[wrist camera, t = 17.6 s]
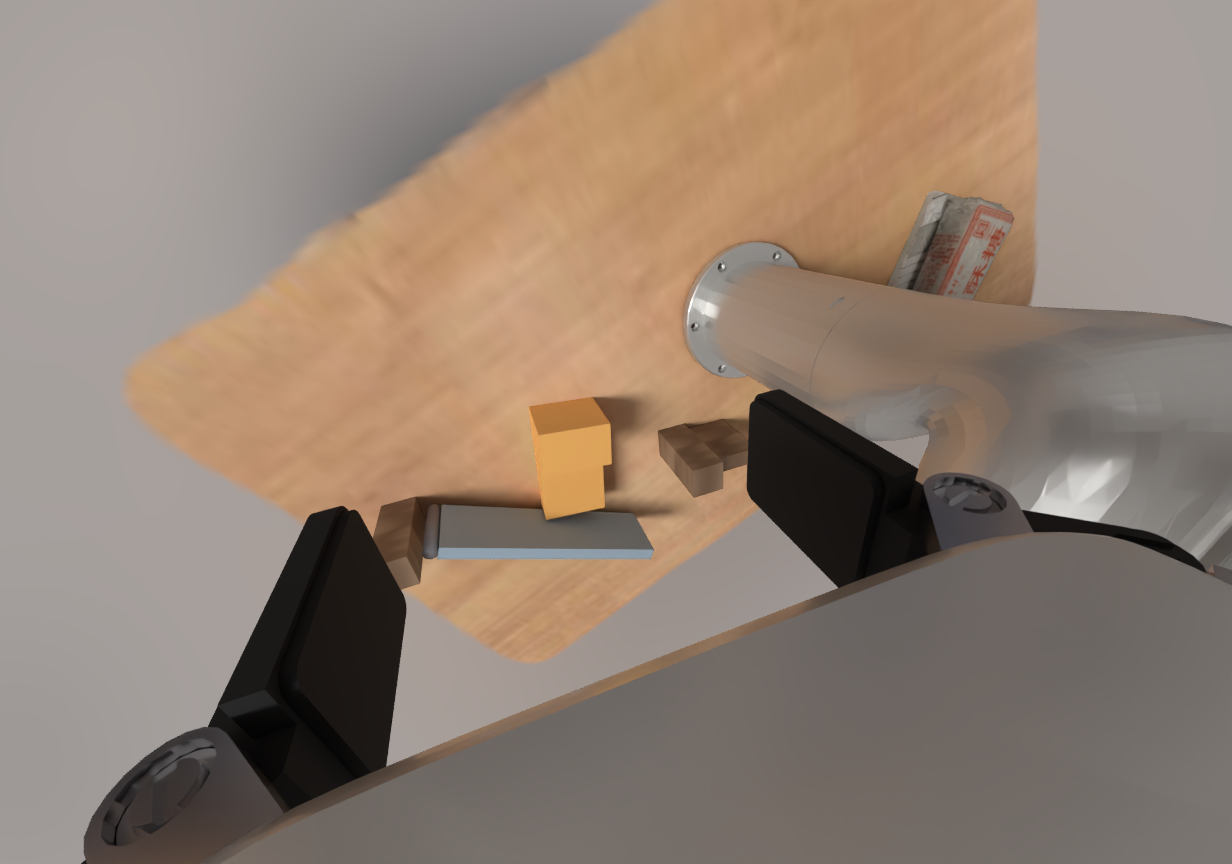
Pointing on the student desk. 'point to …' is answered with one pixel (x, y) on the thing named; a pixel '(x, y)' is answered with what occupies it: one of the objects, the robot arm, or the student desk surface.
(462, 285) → the student desk surface
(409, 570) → the wooden posts
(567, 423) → the orange stepped block
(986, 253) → the packaged product
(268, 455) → the student desk surface
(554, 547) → the gate door
